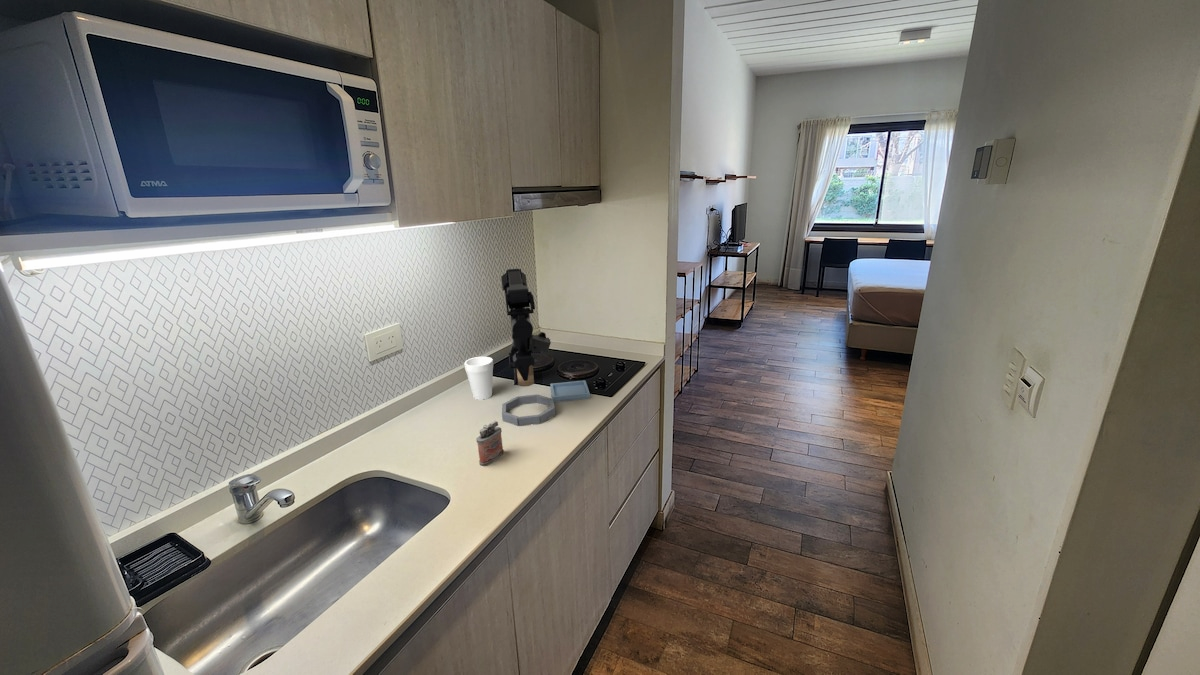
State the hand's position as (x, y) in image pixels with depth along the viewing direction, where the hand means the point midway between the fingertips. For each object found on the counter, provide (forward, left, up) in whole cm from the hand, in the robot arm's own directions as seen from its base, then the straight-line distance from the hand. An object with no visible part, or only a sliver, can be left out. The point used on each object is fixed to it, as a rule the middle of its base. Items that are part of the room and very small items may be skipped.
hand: (525, 377), depth 152 cm
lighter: (+25, -11, -13) cm, 30 cm away
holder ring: (0, 0, -12) cm, 12 cm away
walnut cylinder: (0, 0, -2) cm, 2 cm away
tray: (-12, +14, -12) cm, 23 cm away
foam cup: (-17, -16, -13) cm, 26 cm away
